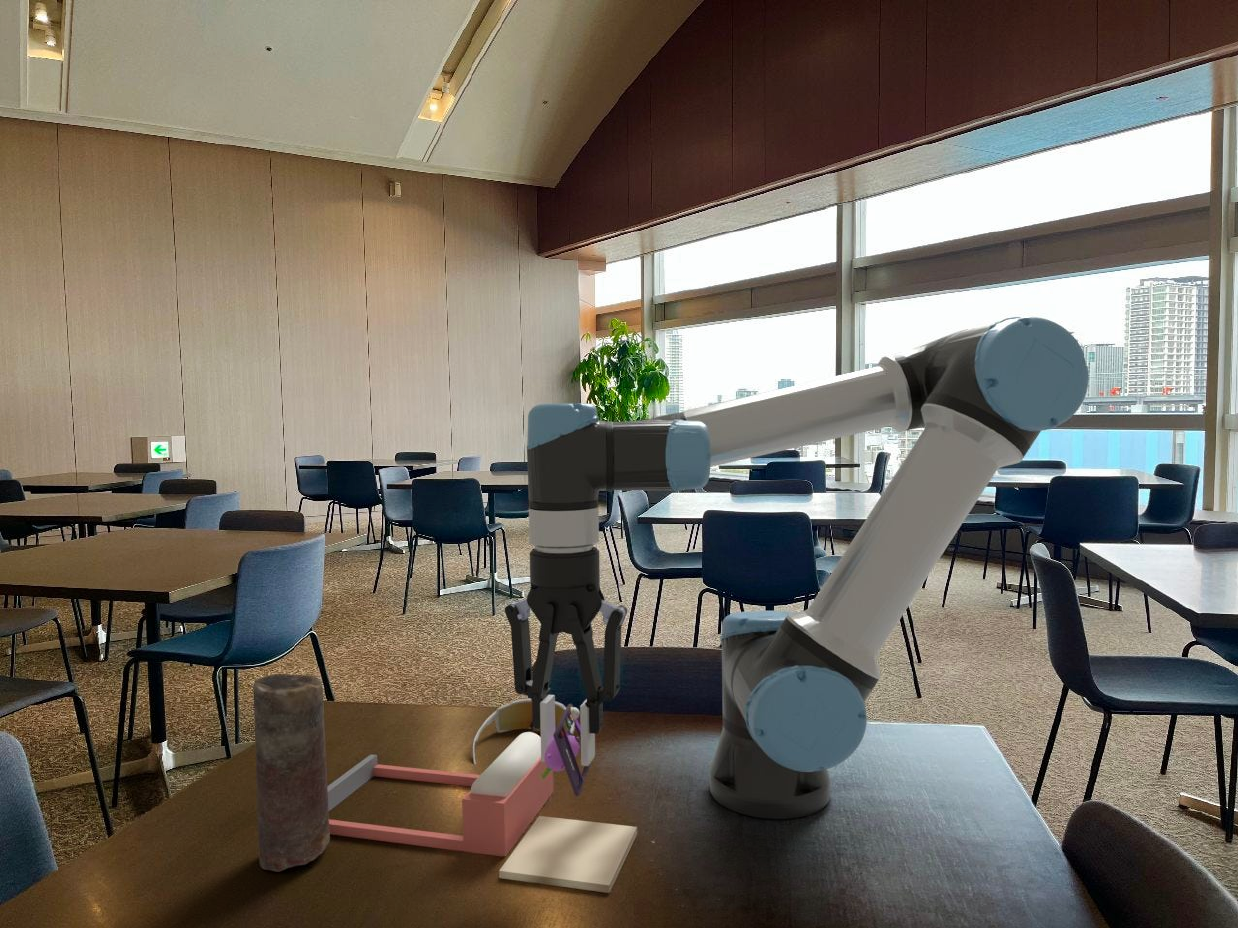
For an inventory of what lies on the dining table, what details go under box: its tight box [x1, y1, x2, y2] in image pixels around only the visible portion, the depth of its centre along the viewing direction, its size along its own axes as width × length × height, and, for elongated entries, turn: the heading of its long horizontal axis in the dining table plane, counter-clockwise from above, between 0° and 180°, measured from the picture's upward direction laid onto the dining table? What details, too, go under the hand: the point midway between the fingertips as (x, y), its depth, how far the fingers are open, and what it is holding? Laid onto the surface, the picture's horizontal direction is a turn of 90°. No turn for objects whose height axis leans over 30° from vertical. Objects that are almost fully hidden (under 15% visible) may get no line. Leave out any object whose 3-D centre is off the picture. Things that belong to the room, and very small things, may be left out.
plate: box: [498, 815, 638, 894], centre depth 89 cm, size 12×12×1 cm
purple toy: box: [541, 703, 592, 797], centre depth 87 cm, size 7×5×9 cm
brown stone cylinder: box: [252, 673, 331, 873], centre depth 90 cm, size 8×7×20 cm
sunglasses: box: [472, 697, 576, 765], centre depth 119 cm, size 14×15×5 cm
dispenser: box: [327, 731, 555, 858], centre depth 100 cm, size 26×16×8 cm, turn 75°
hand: (568, 758), depth 89 cm, fingers closed on purple toy, 4 cm apart
